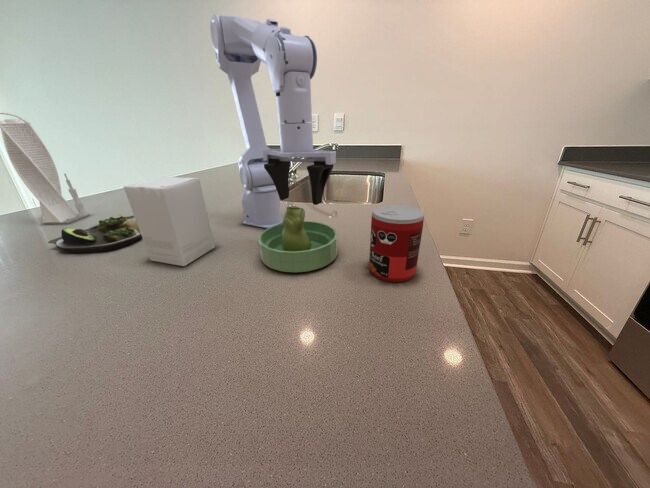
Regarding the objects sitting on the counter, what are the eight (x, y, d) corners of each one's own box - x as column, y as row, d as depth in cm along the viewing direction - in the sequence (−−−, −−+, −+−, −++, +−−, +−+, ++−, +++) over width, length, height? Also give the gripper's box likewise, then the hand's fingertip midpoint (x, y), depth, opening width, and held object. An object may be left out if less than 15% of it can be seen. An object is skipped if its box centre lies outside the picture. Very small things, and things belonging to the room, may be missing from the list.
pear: (287, 250, 52) (282, 202, 48) (313, 250, 52) (311, 202, 47) (280, 264, 47) (275, 212, 43) (309, 264, 47) (306, 212, 42)
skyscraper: (63, 225, 71) (6, 111, 59) (34, 226, 71) (-28, 112, 59) (89, 215, 78) (44, 112, 66) (63, 215, 78) (13, 113, 66)
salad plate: (105, 222, 72) (98, 207, 70) (170, 220, 72) (165, 204, 70) (38, 255, 54) (26, 235, 52) (124, 252, 55) (115, 232, 53)
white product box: (217, 247, 56) (201, 177, 49) (184, 267, 48) (160, 188, 42) (184, 242, 58) (165, 175, 52) (148, 260, 51) (121, 185, 44)
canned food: (364, 261, 48) (367, 205, 44) (405, 259, 49) (412, 203, 44) (375, 285, 42) (379, 221, 37) (423, 281, 42) (433, 218, 37)
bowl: (245, 263, 49) (241, 242, 47) (290, 235, 61) (289, 217, 59) (312, 283, 42) (311, 259, 40) (349, 247, 54) (349, 227, 52)
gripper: (246, 124, 44) (257, 201, 50) (320, 123, 37) (323, 212, 43) (273, 123, 49) (280, 193, 55) (341, 122, 43) (341, 201, 49)
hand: (300, 201), depth 50 cm, fingers open, 7 cm apart
